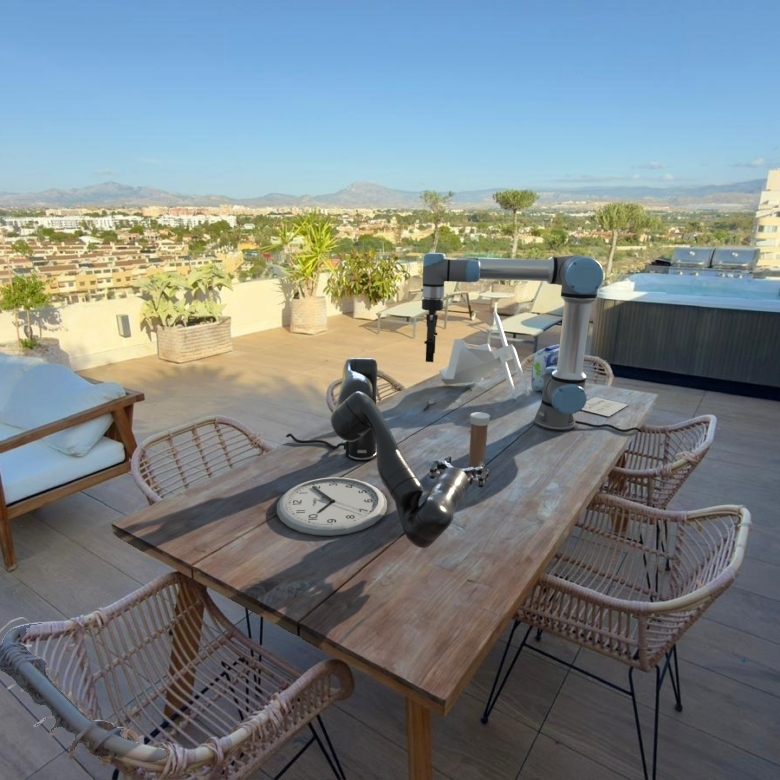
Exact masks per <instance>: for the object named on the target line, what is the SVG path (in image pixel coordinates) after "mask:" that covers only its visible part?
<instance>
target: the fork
mask: <svg viewBox="0 0 780 780" xmlns="http://www.w3.org/2000/svg"><path fill="white" fill-rule="evenodd" d="M436 400H437V397H436V396H432V395H431V396H430V399H429V401H428V404H426V405H425V407H424V409H423V411H422V412H424V411H426V410H428V408H429V407H430V406H431V405H433V404H435V403H436Z"/></svg>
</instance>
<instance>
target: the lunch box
mask: <svg viewBox="0 0 780 780" xmlns="http://www.w3.org/2000/svg"><path fill="white" fill-rule="evenodd" d="M559 346H560V344H554V345H550V346H547V347H544V348H542V349H541V348H540V349H539V350H537V351H536V352H535V353H534V356H533V360H532V367H531V368H532V369H531V382H530V383H531V386H530V387H531V389H532V390H533V391H537V392H541V393H542V392H543V382H544V373H545V369H546V368H547V367H553V366H557V364H558V355H559Z"/></svg>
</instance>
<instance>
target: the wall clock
mask: <svg viewBox="0 0 780 780" xmlns="http://www.w3.org/2000/svg"><path fill="white" fill-rule="evenodd" d="M387 509H388V500H387V498H386V496H385V494H384V493H383V492H382V491H381V490H380V489H379V488H377V487H376V486H374V485H372V484H371V483H369V482H365V481H362V480H359V479H355V478H349V477H338V476H337V477H335V476H333V477H332V476H331V477H322V478H317V479H312V480H307V481H305V482H302V483H299V484H297V485H295V486H293V487H292V488H290V489H288V490H287V491H286V492H285V493H284V494H283V495H281V496H280V498H279V499H278V502H277V503H276V515H277V517H278V518H279V520H280V521H281V522H282V523H283V524H285V525H286V526H287V527H288V528H290V529H293V530H295V531H297V532H299V533H303V534H308V535H312V536H327V537H328V536H329V537H331V536H332V537H333V536H342V535H350V534H352V533H356V532H361V531H363V530H366V529H368V528H369V527H372V526H373V525H375V524H376V523H378V522H379V521H380V520H381V519H382V518H383V517H384V516H385V514H386V512H387Z"/></svg>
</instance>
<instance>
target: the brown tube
mask: <svg viewBox="0 0 780 780" xmlns="http://www.w3.org/2000/svg"><path fill="white" fill-rule="evenodd" d="M488 426H489V424H488V425H485V426H478V425H474V424H472V423H471V422H470V438H469V450H468V451H469V454H468V467H467V468H470V467H473V468H476V467H477V466H478V465H479V463H480V461H481V462H483V464H485V465H486V452H487V451H486V450H487V441H488V440H487V439H488ZM470 473H471V472H470ZM476 474H477V472H476Z"/></svg>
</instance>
